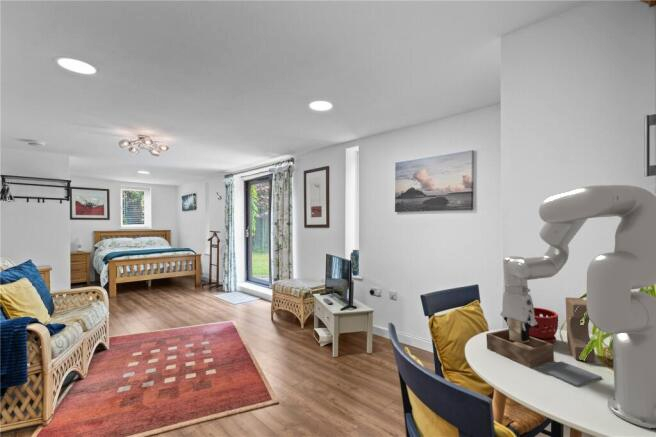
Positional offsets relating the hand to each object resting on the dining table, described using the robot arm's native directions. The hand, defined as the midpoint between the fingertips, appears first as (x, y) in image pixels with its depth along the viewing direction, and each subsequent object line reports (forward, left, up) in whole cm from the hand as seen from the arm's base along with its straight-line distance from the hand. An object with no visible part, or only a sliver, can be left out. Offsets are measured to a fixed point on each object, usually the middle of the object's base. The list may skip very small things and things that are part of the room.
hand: (519, 337), depth 118 cm
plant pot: (+7, -20, -7) cm, 22 cm away
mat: (-16, -1, -7) cm, 18 cm away
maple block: (0, 0, -1) cm, 1 cm away
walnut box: (+1, 0, -7) cm, 7 cm away
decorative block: (-9, -19, -7) cm, 22 cm away
